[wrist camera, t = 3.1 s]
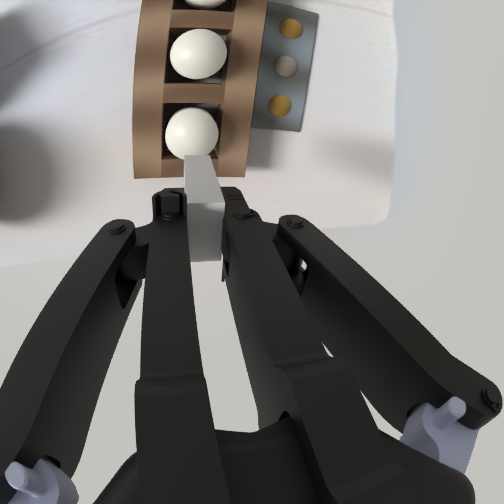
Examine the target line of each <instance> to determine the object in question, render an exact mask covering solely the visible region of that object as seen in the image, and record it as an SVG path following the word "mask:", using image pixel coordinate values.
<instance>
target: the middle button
mask: <svg viewBox="0 0 504 504" xmlns="http://www.w3.org/2000/svg"><path fill="white" fill-rule="evenodd" d="M226 56H227V48H226V45H225V43H224V41H223V39H222V38H221V37H220V36H219V35H218V34H216V33H215V32H213V31H210V30H206V29H194V30H190V31H188V32H186V33H184V34H182V35H181V36H180V37H179V38H177V40H176V41H175V42H174V44H173V46H172V48H171V52H170V60H171V63H172V66H173V67H174V69H175V70H176V71H177V72H178V73H179V74H181V75H182V76H184V77H187V78H191V79H202V78H206V77H209V76H211V75H213V74H215V73H216V72H217V71H218V70H219V69H220V68H221V67H222V66H223V64H224V62H225V60H226Z"/></svg>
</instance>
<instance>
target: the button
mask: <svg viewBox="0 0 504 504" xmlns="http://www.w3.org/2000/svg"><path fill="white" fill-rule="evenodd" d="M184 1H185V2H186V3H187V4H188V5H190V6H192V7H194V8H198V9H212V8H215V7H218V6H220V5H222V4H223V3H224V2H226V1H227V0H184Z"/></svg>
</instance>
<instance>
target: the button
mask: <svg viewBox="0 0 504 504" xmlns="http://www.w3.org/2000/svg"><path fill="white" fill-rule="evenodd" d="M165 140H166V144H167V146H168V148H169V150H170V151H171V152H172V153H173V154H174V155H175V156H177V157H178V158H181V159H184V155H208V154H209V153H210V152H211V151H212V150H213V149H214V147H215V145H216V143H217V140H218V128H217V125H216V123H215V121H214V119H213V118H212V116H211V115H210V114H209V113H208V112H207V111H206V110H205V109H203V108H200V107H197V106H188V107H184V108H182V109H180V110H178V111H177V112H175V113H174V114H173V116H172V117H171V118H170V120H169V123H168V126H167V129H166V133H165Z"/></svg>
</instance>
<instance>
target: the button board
mask: <svg viewBox="0 0 504 504" xmlns="http://www.w3.org/2000/svg"><path fill="white" fill-rule="evenodd" d="M175 3H176V0H142V6H141V12H140V19H139V26H138V34H137V44H136V54H135V66H134V83H133V116H132V133H133V168H134V179H140V178H165V177H184V159H181V158H178V157H177V156H175V155H174V154H173V153H172V152H171V151H170V150H164V120H165V103H219V107H218V118H217V128H218V140H217V143H216V145H215V149H213V150H212V151H211V152H210V153H209V154H208V155H210V157H211V160H212V164H213V167H214V170H215V173H216V176H217V177H245V171H246V162H247V154H248V145H249V137H250V129H251V127H254V128H266V129H277V130H287V131H295V132H299V131H300V125H301V119H302V113H303V107H304V101H305V95H306V89H307V83H308V77H309V70H310V64H311V57H312V51H313V44H314V37H315V30H316V23H317V16H318V14H317V13H313V12H310V11H306V10H302V9H298V8H294V7H290V6H285V5H280V4H275V3H270V2H268V0H232V2H231V8H230V12H224V11H209V10H175ZM267 3H268V4H267ZM266 9H267V11H266ZM265 16H266V18H265ZM264 23H265V25H264ZM194 29H206V30H210V31H213V32H215V33H216V34H220V35H227V36H226V44H225V45H226V48H227V56H226V60H225V62H224V64H223V69H222V78H221V84H218V83H166V82H167V69H168V58H169V48H170V39H171V33H186V32H188V31H190V30H194ZM263 30H264V32H263ZM262 37H263V39H262ZM261 45H262V46H261ZM260 52H261V53H260ZM259 59H260V61H259ZM258 67H259V68H258ZM257 74H258V76H257ZM256 82H257V83H256ZM255 89H256V91H255ZM254 97H255V99H254ZM253 105H254V107H253ZM252 113H253V114H252ZM251 121H252V122H251Z"/></svg>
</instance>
